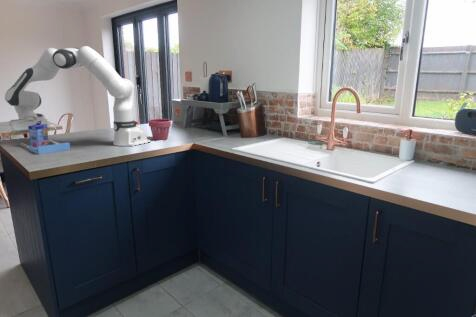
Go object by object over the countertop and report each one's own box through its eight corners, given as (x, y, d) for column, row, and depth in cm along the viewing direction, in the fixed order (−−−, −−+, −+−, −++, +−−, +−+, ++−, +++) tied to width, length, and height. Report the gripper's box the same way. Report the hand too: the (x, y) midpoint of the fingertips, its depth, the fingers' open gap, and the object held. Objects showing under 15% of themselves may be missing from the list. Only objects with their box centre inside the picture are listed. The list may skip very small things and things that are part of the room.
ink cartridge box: (39, 147, 188) (36, 122, 185) (30, 146, 189) (26, 121, 185) (49, 143, 198) (46, 119, 194) (40, 143, 198) (37, 119, 195)
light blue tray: (50, 141, 204) (49, 135, 203) (70, 149, 183) (69, 142, 182) (19, 145, 192) (18, 138, 191) (37, 154, 172) (36, 146, 171)
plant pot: (168, 141, 210) (167, 121, 207) (146, 141, 210) (145, 121, 207) (173, 137, 224) (172, 118, 220) (152, 137, 224) (152, 118, 221)
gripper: (8, 116, 192) (15, 135, 188) (46, 114, 206) (54, 131, 202) (7, 123, 196) (14, 142, 192) (45, 120, 210) (52, 137, 206)
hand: (35, 136), depth 197 cm, fingers closed
